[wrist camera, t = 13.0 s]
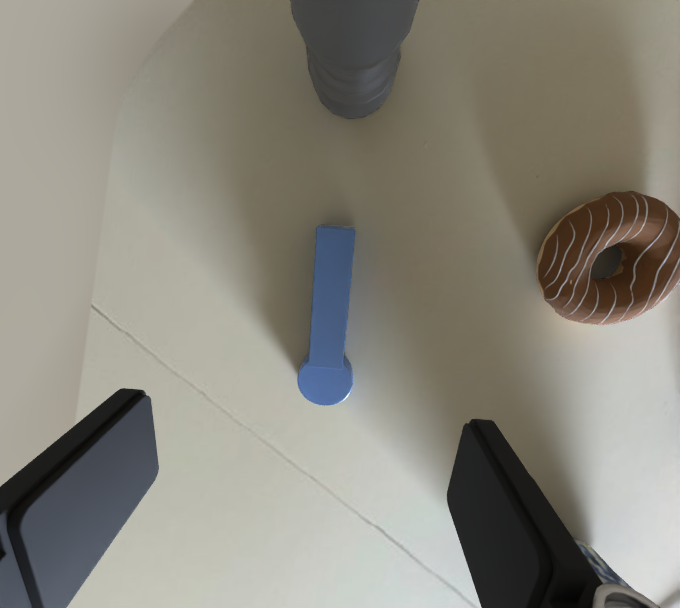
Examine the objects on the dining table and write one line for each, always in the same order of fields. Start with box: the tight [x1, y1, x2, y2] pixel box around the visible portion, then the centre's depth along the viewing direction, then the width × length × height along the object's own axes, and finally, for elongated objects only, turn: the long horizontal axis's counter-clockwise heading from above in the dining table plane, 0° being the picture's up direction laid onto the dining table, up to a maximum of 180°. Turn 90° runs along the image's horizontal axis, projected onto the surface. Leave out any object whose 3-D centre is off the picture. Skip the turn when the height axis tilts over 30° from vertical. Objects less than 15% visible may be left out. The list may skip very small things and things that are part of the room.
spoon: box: [298, 224, 355, 406], centre depth 28 cm, size 17×5×3 cm, turn 175°
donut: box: [536, 191, 680, 325], centre depth 25 cm, size 11×11×4 cm
